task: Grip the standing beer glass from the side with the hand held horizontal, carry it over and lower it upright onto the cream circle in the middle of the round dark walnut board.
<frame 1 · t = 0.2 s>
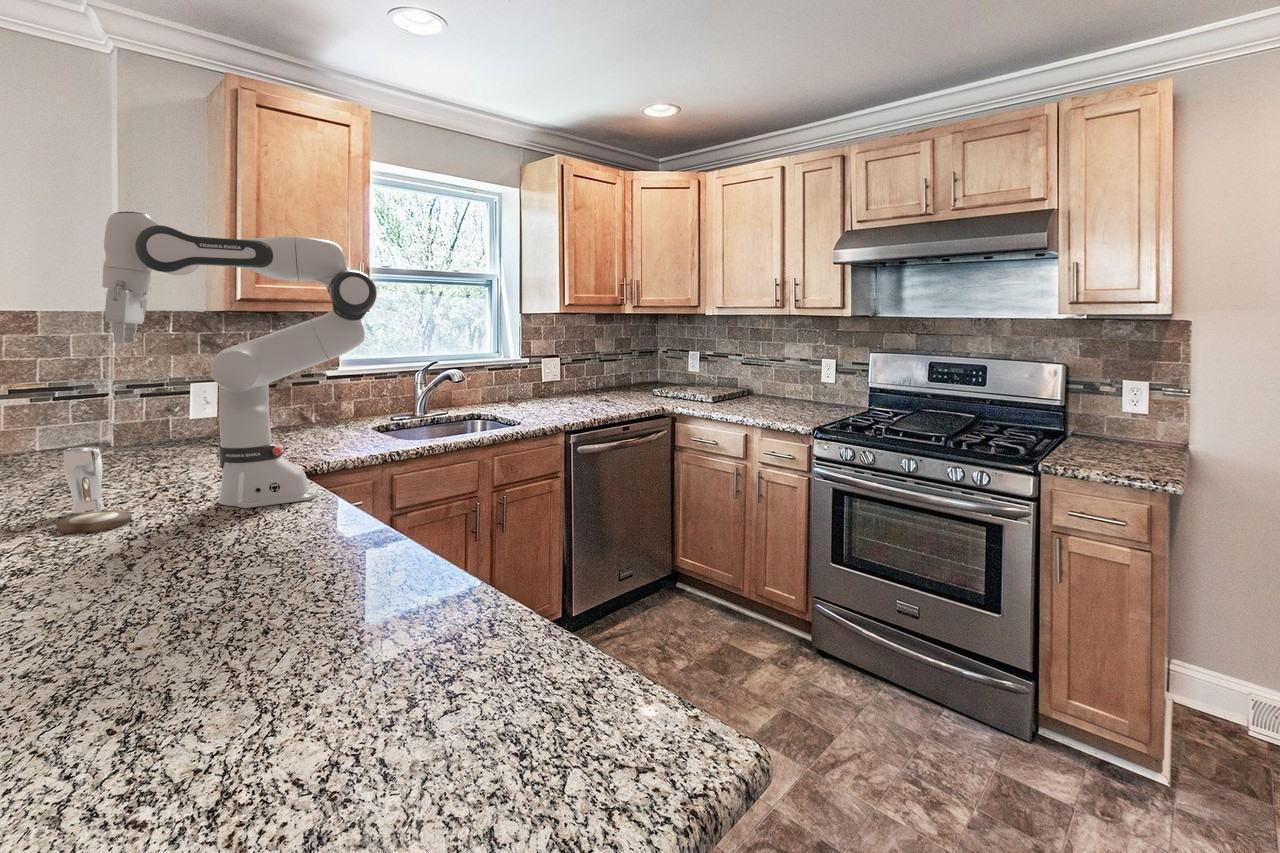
hand: (124, 342, 157), 40 cm above the countertop, tool pointing down, fingers open, 8 cm apart
beer glass: (88, 511, 160), on the countertop
walnut board: (95, 524, 149), on the countertop
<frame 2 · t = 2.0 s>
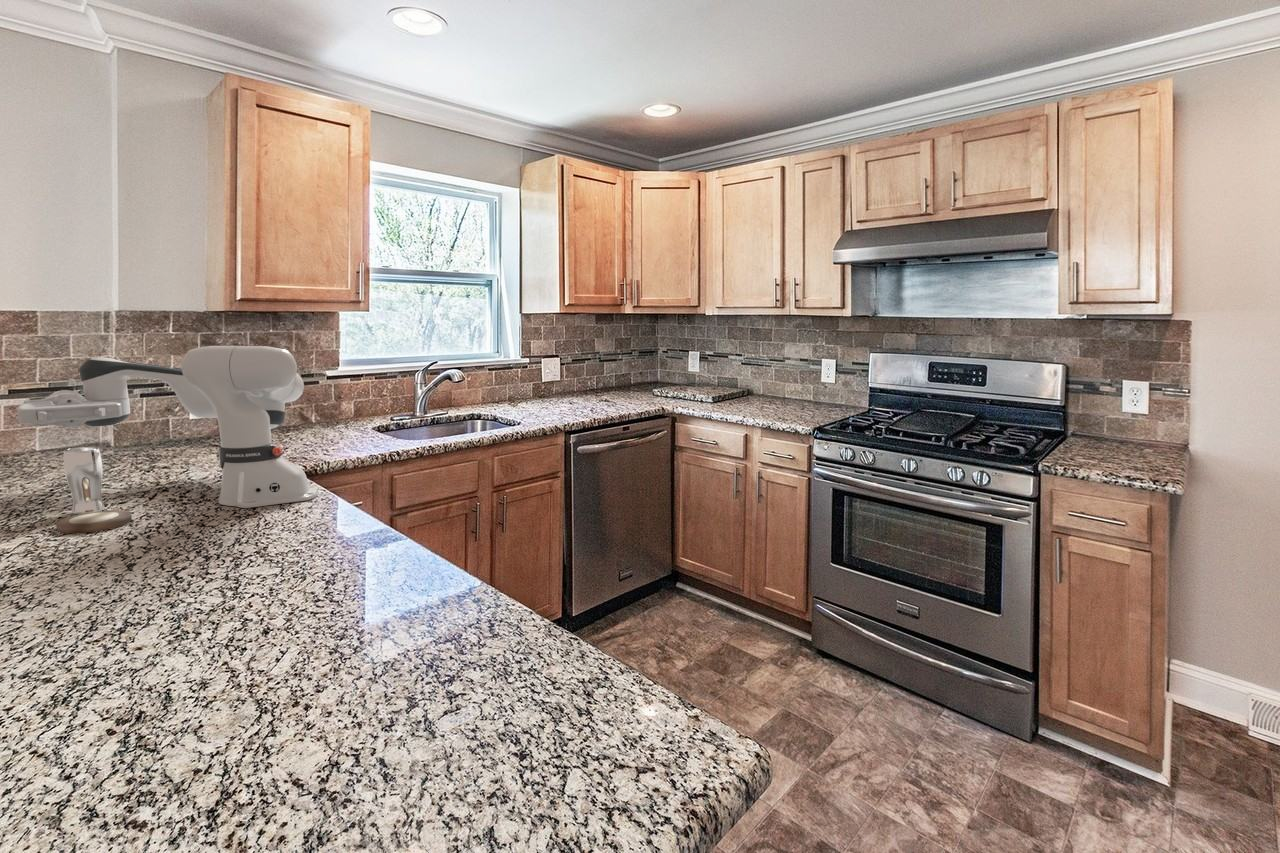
hand: (73, 415, 166), 22 cm above the countertop, tool horizontal, fingers open, 8 cm apart
nothing on the countertop moved.
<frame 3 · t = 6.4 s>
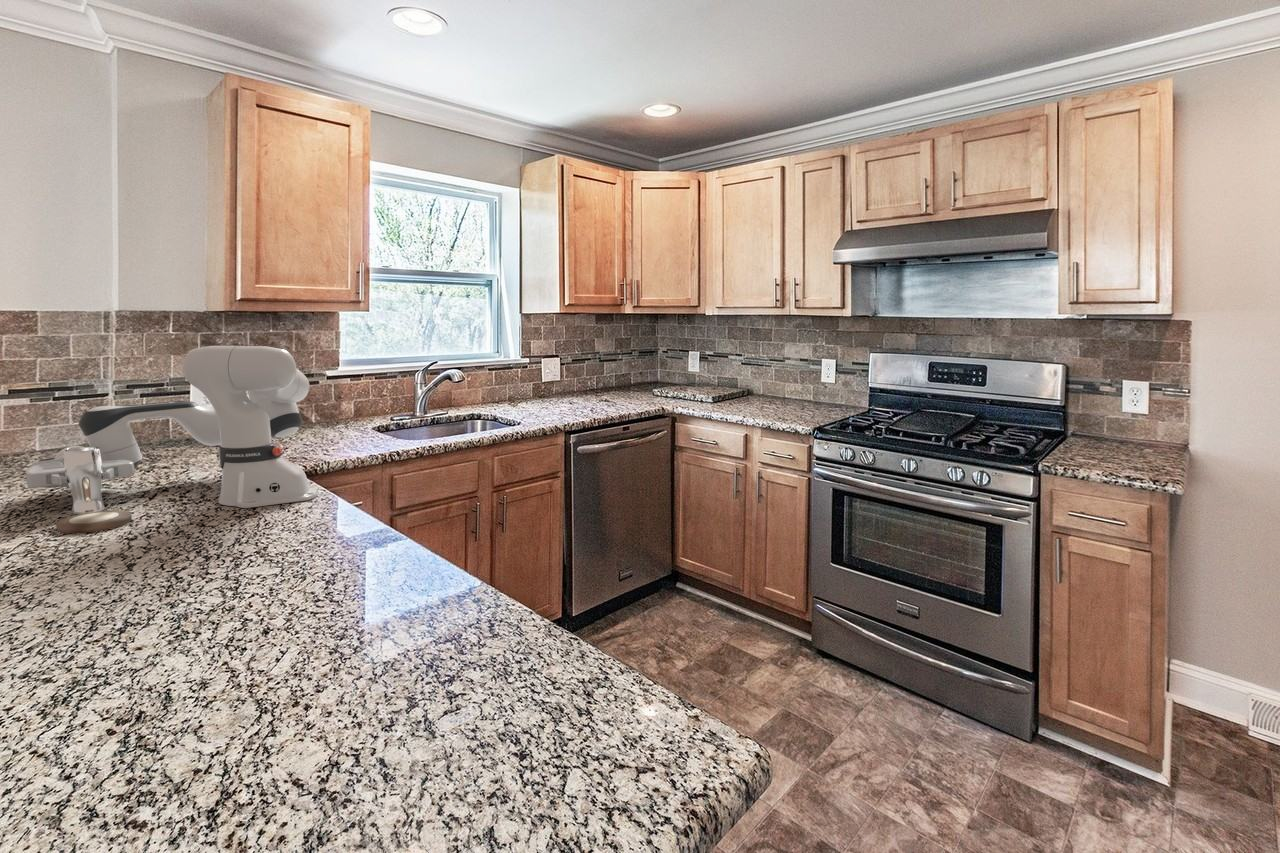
hand: (85, 478, 158), 8 cm above the countertop, tool horizontal, fingers closed on beer glass, 6 cm apart
beer glass: (88, 511, 160), on the countertop, touching gripper
when the fingers open (11 cm above the countertop, at t = 11.2 s): beer glass moves 2 cm, resting on walnut board.
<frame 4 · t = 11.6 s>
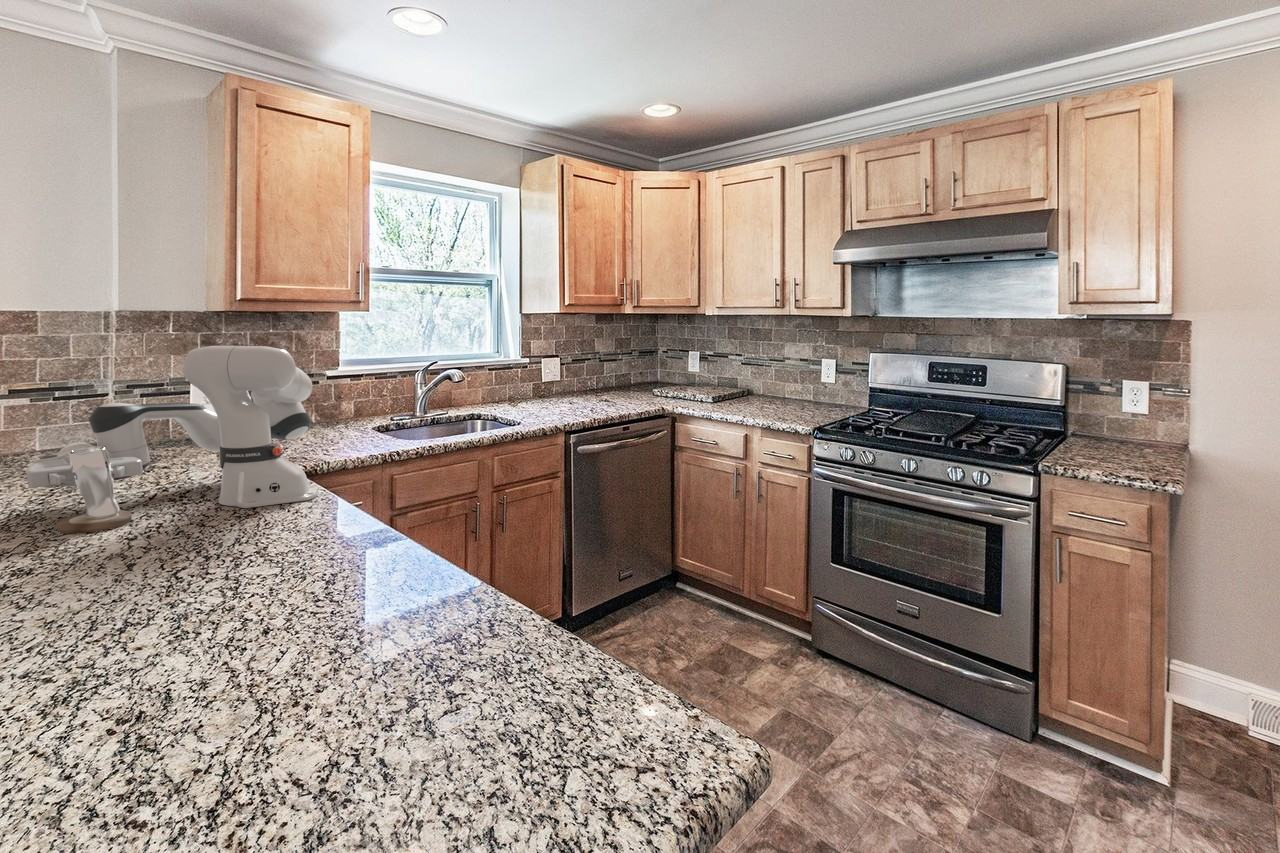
hand: (90, 477, 147), 11 cm above the countertop, tool horizontal, fingers open, 8 cm apart
beer glass: (104, 515, 150), point 2 cm above the countertop, touching gripper, walnut board
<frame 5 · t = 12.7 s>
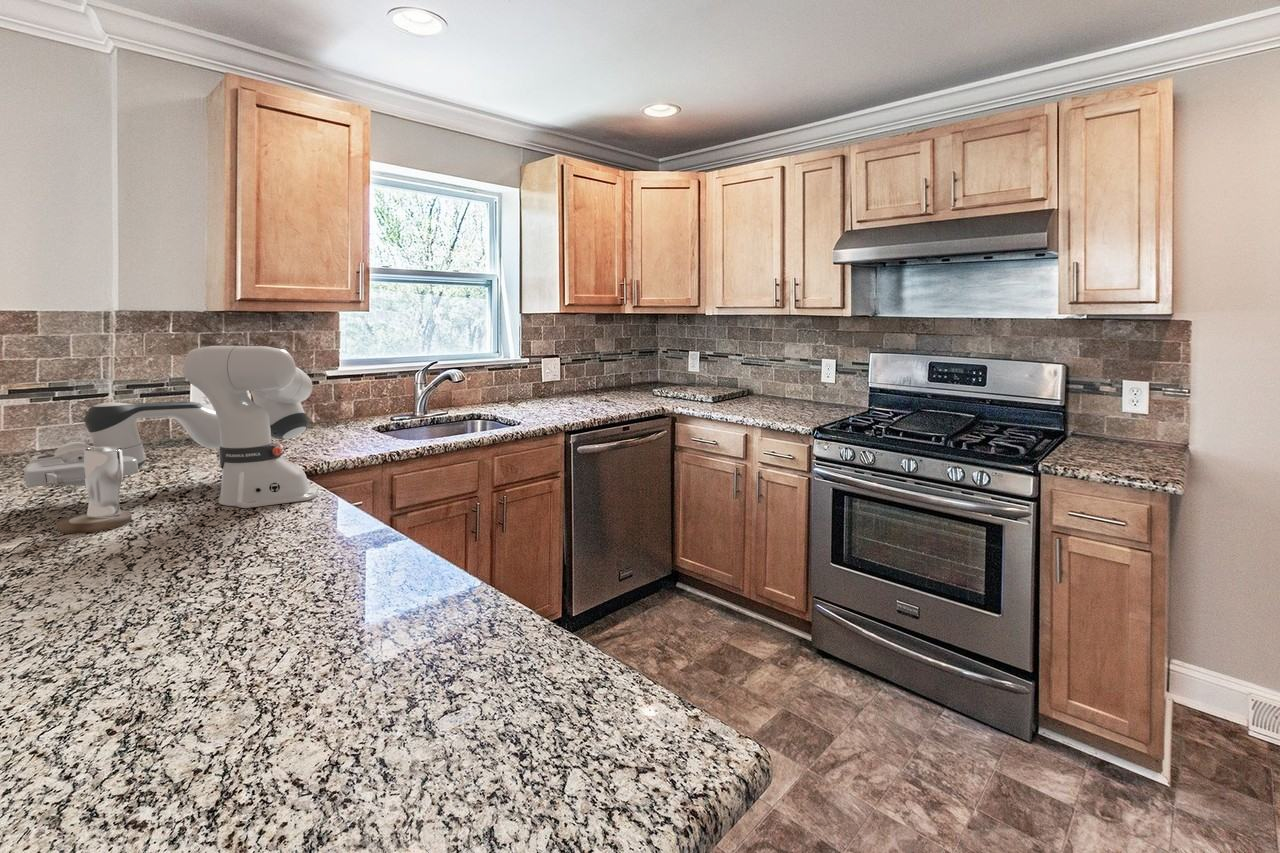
hand: (86, 476, 150), 10 cm above the countertop, tool horizontal, fingers open, 8 cm apart
beer glass: (104, 515, 150), point 2 cm above the countertop, touching walnut board
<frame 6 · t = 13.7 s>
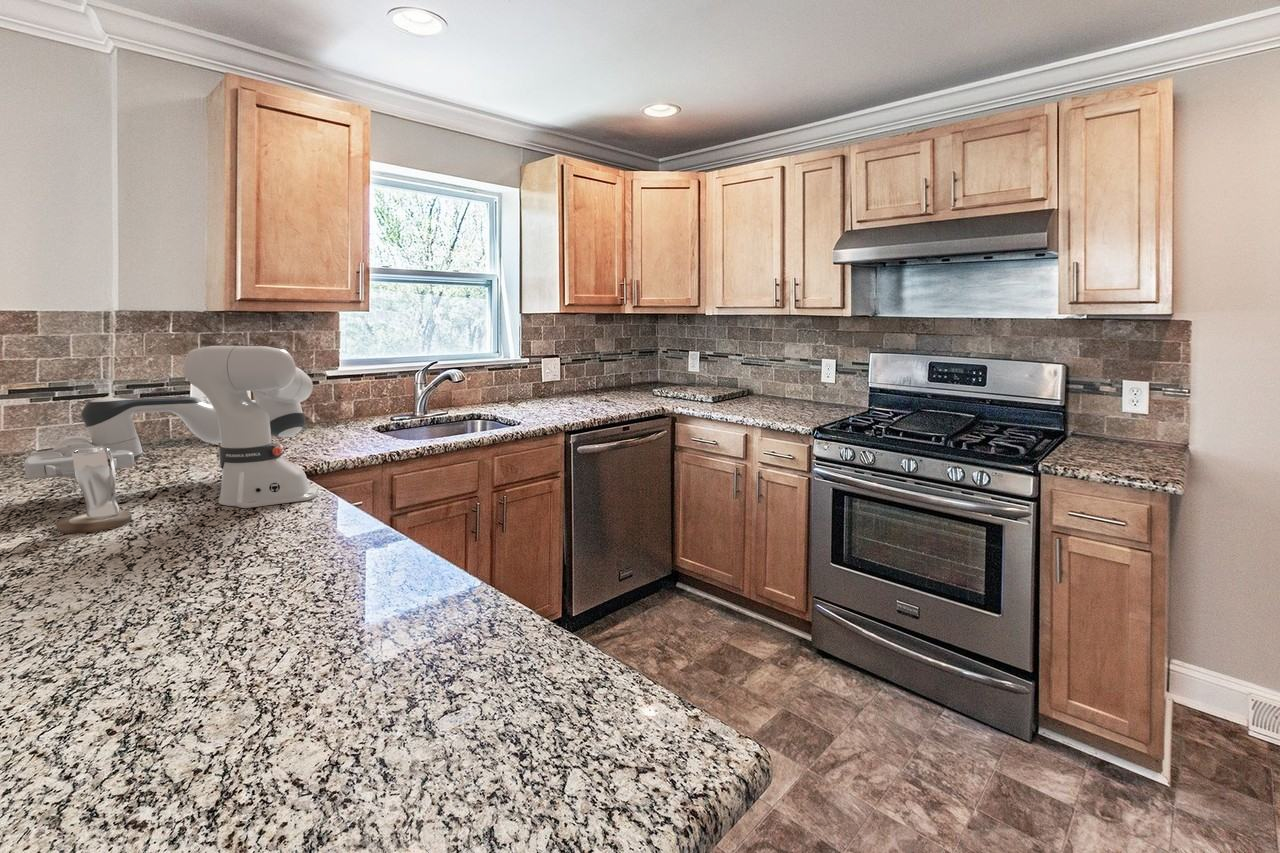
hand: (84, 468, 156), 11 cm above the countertop, tool horizontal, fingers open, 8 cm apart
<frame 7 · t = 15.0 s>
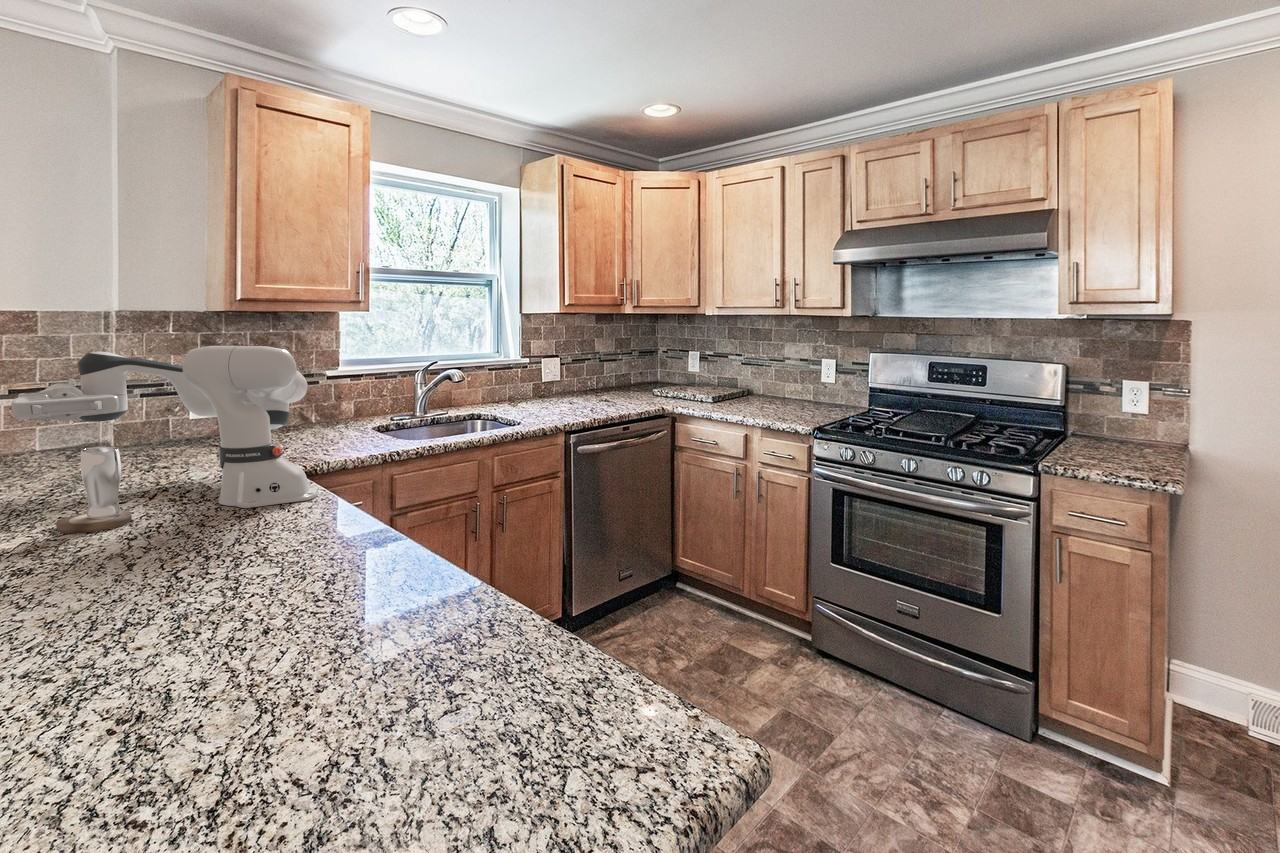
hand: (69, 408, 161), 24 cm above the countertop, tool horizontal, fingers open, 8 cm apart
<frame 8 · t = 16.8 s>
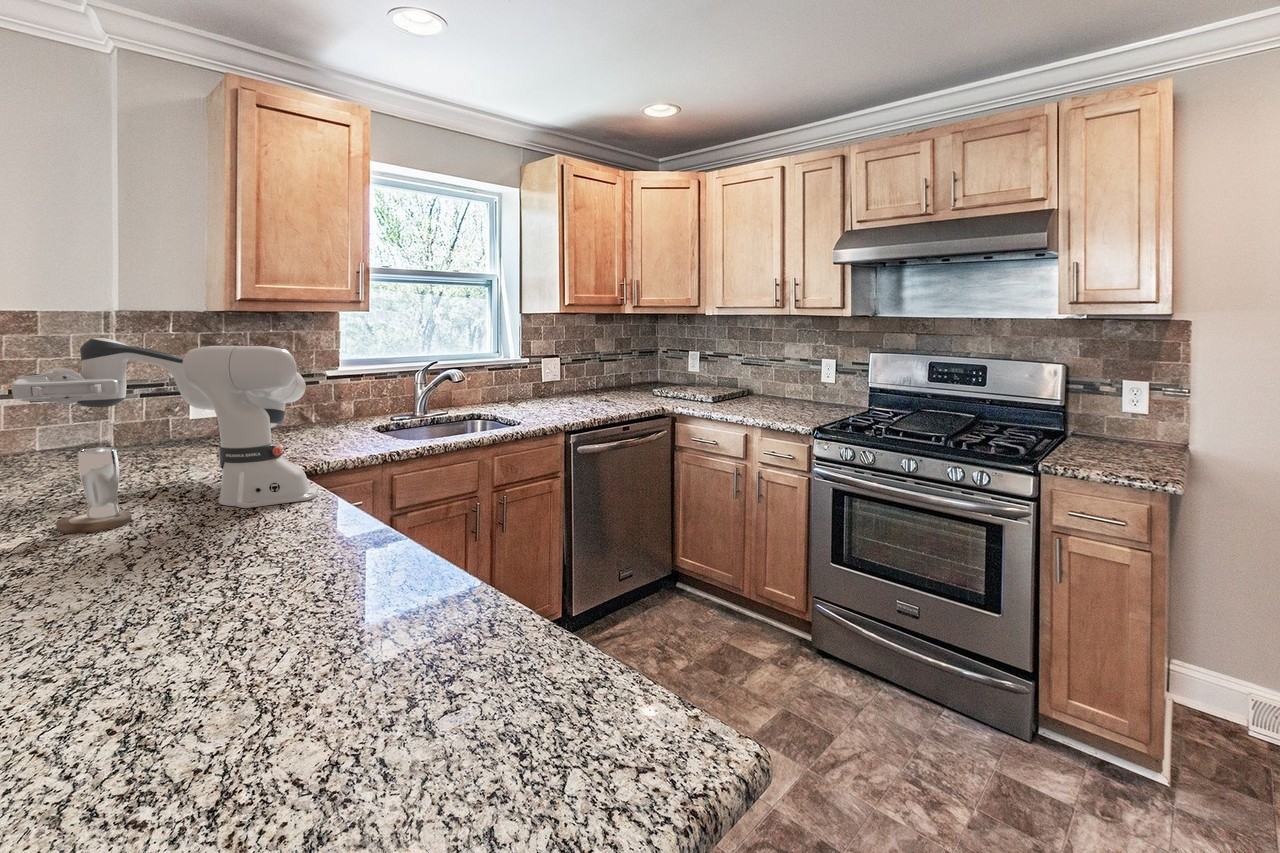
hand: (69, 390, 163), 28 cm above the countertop, tool horizontal, fingers open, 8 cm apart
nothing on the countertop moved.
at the end: beer glass 1.7 cm from the walnut board (horizontally); beer glass tilted 1°; beer glass touching walnut board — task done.
